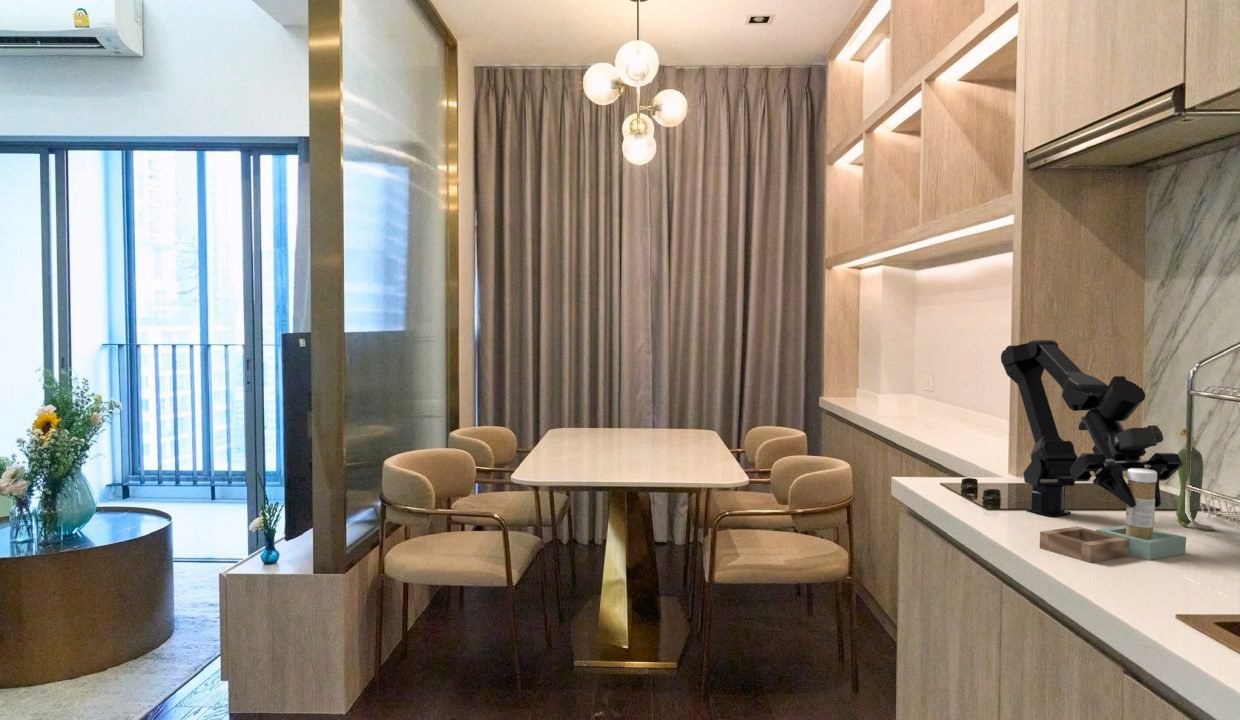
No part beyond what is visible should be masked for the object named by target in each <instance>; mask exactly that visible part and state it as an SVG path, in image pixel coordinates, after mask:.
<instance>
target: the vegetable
mask: <svg viewBox="0 0 1240 720" xmlns="http://www.w3.org/2000/svg"><path fill="white" fill-rule="evenodd" d="M1187 430H1188V429H1186V428H1183V429H1181V430H1180V433H1179V435H1180V436H1181V437H1182V443H1183V445H1184V446H1185V447H1183V448H1182V449H1180V450H1179V451H1178V453H1177V454H1178V456H1179V457H1180V459H1181V461H1182V462H1183V465H1182V466H1181V467H1180V468H1179V469H1178V470H1177V473H1178V477H1179V483H1180V492H1179V496H1178V501H1177V507H1176V517H1177V518H1176V522H1177V523H1179V526H1183V527H1184V528H1185V527H1187V526H1189V525H1190V524H1191V523H1192V522H1191V521H1190V520H1189V519H1188V517H1187V515H1186V513H1185V479H1186V459H1187V457H1186V455H1187V448H1186V441H1187ZM1196 447H1197V446H1196V441H1195V438H1194V436H1193V435H1192V451H1191V474H1190V485H1191V486H1192V487H1196V488H1199V489H1203V478H1204V459H1203V456H1202V453H1201V451H1199V450H1198V449H1196ZM1190 495H1191V496H1190V512H1191V517H1192V519H1193V520H1194V521H1195V520H1196V518H1197V515H1198V512H1199V508H1200V504H1201V498H1202V497H1201V496H1202V492H1201V493H1198V492H1195V491H1191V494H1190Z"/></svg>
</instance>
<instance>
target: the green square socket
mask: <svg viewBox="0 0 1240 720" xmlns="http://www.w3.org/2000/svg"><path fill="white" fill-rule="evenodd" d="M1095 531H1098V532H1102V533H1106V534H1110V535H1114V536H1118V537H1122V538H1126V539H1129V556H1132V557H1136V558H1140V559H1144V560H1147V561H1151V560H1157V559H1162V558H1163V559H1164V558H1169V557H1175V556H1180V555H1184V554H1185V555H1186V554H1187V552H1186V551H1187V550H1186V549H1187V537H1186V536H1183V535H1178V534H1174V533H1170V532H1165V531H1162V530H1158V529H1153V539H1150V540H1145V539H1141V538H1137V537H1133V536H1129V535H1126V525H1121V526H1120V525H1119V526H1112V527H1105V528H1097V529H1096V530H1095Z"/></svg>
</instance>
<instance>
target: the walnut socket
mask: <svg viewBox="0 0 1240 720" xmlns="http://www.w3.org/2000/svg"><path fill="white" fill-rule="evenodd" d="M1039 549H1042V550H1046V551H1048V550H1049V552H1053V553H1056V554H1059V555H1062V556H1063V555H1064V556H1067V557H1069V558H1074V559H1076V560H1079V561H1083V562H1087V563H1096V562H1103V561H1108V560H1114V559H1119V558H1120V559H1121V558H1126V557H1129V556H1130V555H1129V539H1126V538H1122V537H1118V536H1114V535H1110V534H1106V533H1102V532H1098V531H1096V530H1093V529H1090V528H1087V527H1082V526H1071V527H1070V526H1069V527H1065V528H1056V529H1049V530H1041V531H1039Z"/></svg>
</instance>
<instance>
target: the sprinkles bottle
mask: <svg viewBox="0 0 1240 720" xmlns="http://www.w3.org/2000/svg"><path fill="white" fill-rule="evenodd" d="M1126 473H1127V474H1126V475H1127V476H1126V479H1127V482H1128V483H1127V486H1128V487H1129V489H1130V491H1131V493H1132V495H1133V498H1134V500H1135V503H1136V505H1135V506H1134V507H1130V506H1128V505H1127V504H1126V515H1125V523H1126V535H1129V536H1133V537H1137V538H1141V539H1145V540H1150V539H1153V530H1154V527H1155V514H1156V513H1155V512H1156V507H1155V485H1156V482H1157V472H1156V471H1154V470H1150V469H1143V468H1130V469H1128V472H1126Z"/></svg>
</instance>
